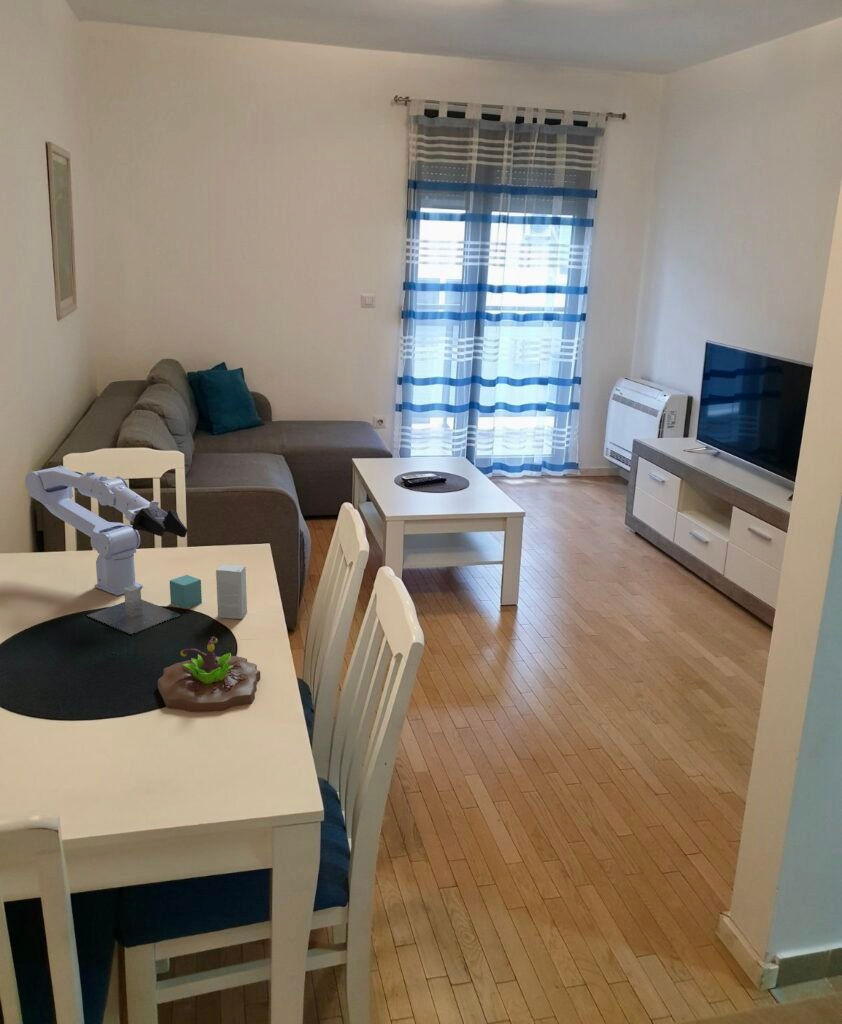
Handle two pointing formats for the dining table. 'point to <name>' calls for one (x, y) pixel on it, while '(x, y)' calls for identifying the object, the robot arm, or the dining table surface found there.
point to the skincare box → (231, 591)
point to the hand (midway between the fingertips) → (174, 533)
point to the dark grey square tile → (133, 613)
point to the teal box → (185, 591)
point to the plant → (209, 682)
